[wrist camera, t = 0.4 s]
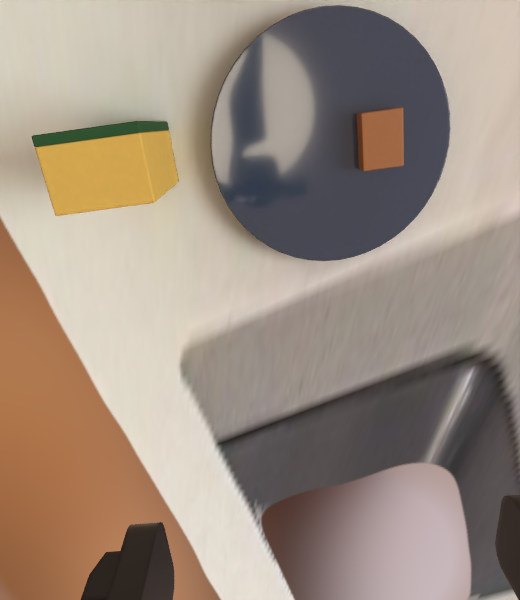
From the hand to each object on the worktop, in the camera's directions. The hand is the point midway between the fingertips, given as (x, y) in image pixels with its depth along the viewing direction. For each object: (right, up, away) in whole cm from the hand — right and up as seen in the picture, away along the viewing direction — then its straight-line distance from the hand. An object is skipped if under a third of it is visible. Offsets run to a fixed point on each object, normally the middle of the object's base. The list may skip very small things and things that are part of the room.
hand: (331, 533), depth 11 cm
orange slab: (+7, +18, +23) cm, 30 cm away
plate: (+4, +18, +24) cm, 30 cm away
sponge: (-11, +17, +24) cm, 31 cm away
